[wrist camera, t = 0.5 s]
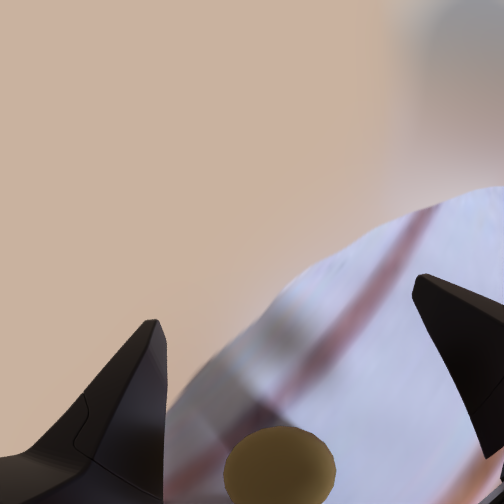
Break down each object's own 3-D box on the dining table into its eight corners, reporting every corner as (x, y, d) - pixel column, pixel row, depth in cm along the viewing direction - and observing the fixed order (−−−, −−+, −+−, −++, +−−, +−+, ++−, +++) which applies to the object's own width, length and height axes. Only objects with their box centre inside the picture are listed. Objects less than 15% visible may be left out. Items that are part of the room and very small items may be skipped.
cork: (343, 455, 16) (377, 451, 8) (297, 512, 13) (290, 556, 5) (280, 421, 19) (261, 388, 11) (235, 474, 16) (178, 481, 8)
